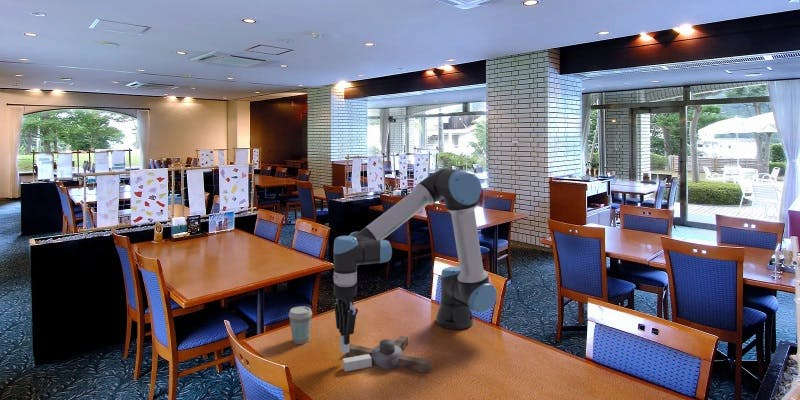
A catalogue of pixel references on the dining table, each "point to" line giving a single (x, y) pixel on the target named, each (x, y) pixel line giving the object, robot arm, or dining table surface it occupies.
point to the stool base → (391, 355)
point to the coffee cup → (300, 324)
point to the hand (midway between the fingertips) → (344, 352)
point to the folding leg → (357, 362)
